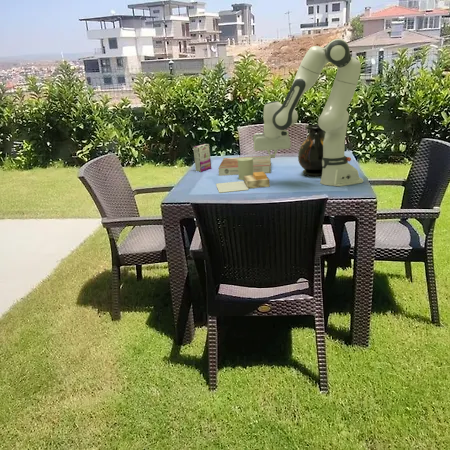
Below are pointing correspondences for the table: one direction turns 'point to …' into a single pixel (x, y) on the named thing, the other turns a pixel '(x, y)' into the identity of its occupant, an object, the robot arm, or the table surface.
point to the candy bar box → (202, 157)
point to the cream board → (231, 186)
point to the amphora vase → (312, 152)
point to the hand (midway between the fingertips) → (272, 157)
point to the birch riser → (256, 182)
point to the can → (245, 167)
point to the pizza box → (231, 165)
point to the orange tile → (259, 175)
